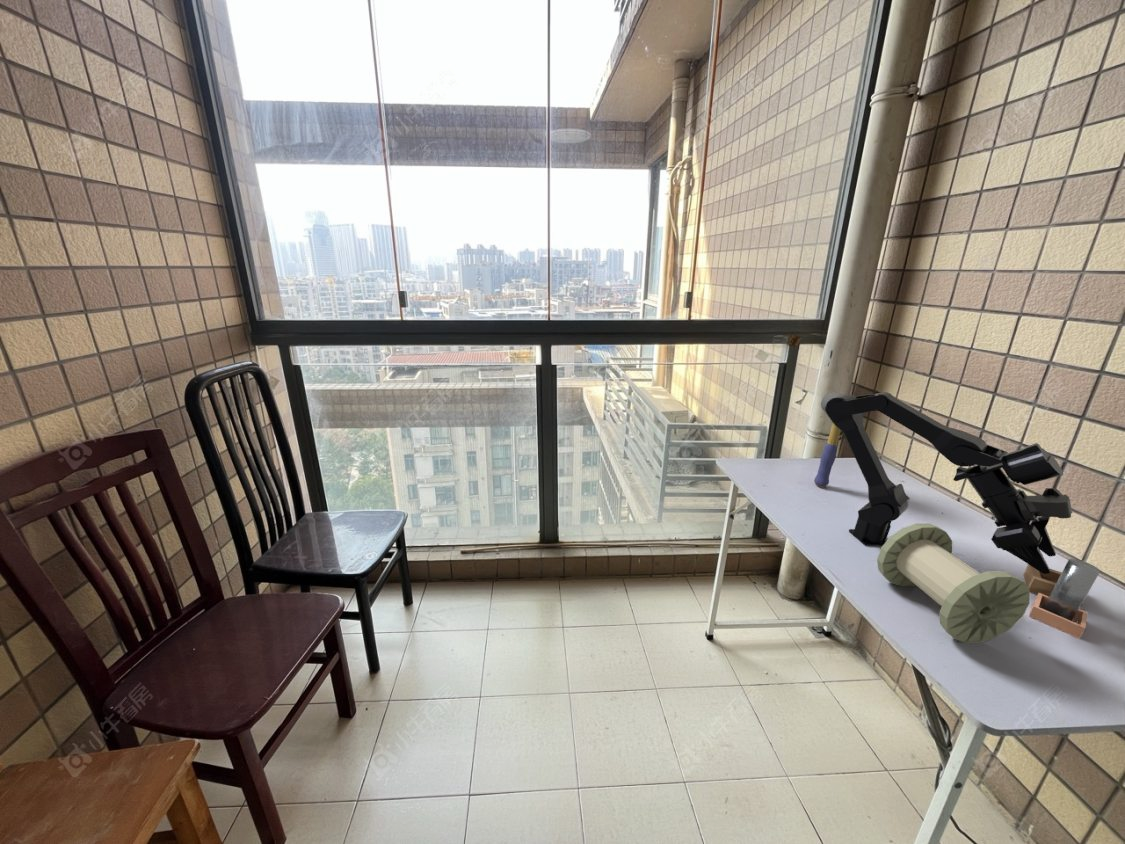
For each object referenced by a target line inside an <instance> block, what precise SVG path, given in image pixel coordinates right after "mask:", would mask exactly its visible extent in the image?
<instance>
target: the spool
mask: <svg viewBox="0 0 1125 844" xmlns="http://www.w3.org/2000/svg"><path fill="white" fill-rule="evenodd" d="M952 553H953V540H952V539H951V537H950V535H949V534H948V533H947V531H945V530H944V529H943V528H941V527H938V526H936V525H934V524H932V523H927V522H925V523H924V522H922V523H920V522H919V523H916V522H915V523H914V524H911V525H907V526H905V527H902V528H900V530H898V531H896V532H895V533H894V534H892V535H891V536H890V537H888V539H886V542H885V544H884V545H883V546H881V548H880V551H879V553H878V555H877V558H876V561H877V569H878V572H879V573H880V574H881V575H882V576H883V577H884V579H886V580H887V581H888V582H889V583H891V584H893V585H897V586H899V587H911V586H910V585H914V586H916V587H918V588H919V589H920V590H921V591H923V592H924V593H925V594H926V595H927V596H929V597H930V598H931V599H932V600H933V601H934V602H936V603H937V604H938V605H939V606H941V608H940V610H939V624H940V625H941V627H942V628H943V629H944V631H945V632H946V633H947V634H948V635H949V636H951V637H952V638H953V640H954V639H955V640H957V641H959V642H962V643H967V644H968V643H969V644H970V643H983V642H986V641H988V640H989V641H990V640H993V639H994V638H997V637H999V636H1000V635H1003V634H1004V633H1006V632H1008V631H1009V630H1010V629H1012V628H1013V627H1014V626H1015V625H1016V624H1017V623H1018V622H1019V621H1020V620H1021V619H1022V617H1024V615H1025V613H1026V610H1027V609H1028V607H1029V605H1030V599H1031V598H1030V597H1031V593H1030V591H1029V589H1028V587H1027V586H1026V584H1025V581H1024V580H1022V579H1020V578H1019V577H1018V576H1015V575H1013V574H1011V573H1009V572H1006V571H1004V570H997V571H996V570H991V571H990V570H988V571H985V572H983V573H980V572H979V571H977V570H976V569H974V567H971V566H969V565H968V564H967V563H965V562H964V561H963V560H961V559H959V558H958V557H957V556H955V555H954V554H952ZM908 585H909V586H908Z"/></svg>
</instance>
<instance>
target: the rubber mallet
mask: <svg viewBox="0 0 1125 844" xmlns="http://www.w3.org/2000/svg"><path fill="white" fill-rule="evenodd" d="M841 395H844V393H840V392H837V391H833V392H832V391H831V392H828V393H827V394H825V395H824V396H823V397H822V398H821V401H820V406H821V409H822V410H823V412H825V413H826V411H825V406H826V404H827V402H828V401H829V400H831V399H833V398H835V397H838V396H841ZM864 416H865V412H864V413H863V417H864ZM841 432H842V431H841V430H840V429H839V428H838V427H836V426H835V425H834V424H833V423H832V425H831V428H830V432H829V435H828V439H827V441H826V443H825V445H824V447H823V450H822V451H821V452H822V453H821V454H820V462H819V466H818V469H817V474H816V476H815V477H814V479H813V480H814V481H813V482H814V484H815V486H817V487H818V488H826V487H827V486H828V485H829V484H830V475H831V471H832V467H833V466H834V463H835V461H836V458H837V451H838V442H839V438H840V434H841Z"/></svg>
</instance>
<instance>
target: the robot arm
mask: <svg viewBox="0 0 1125 844" xmlns="http://www.w3.org/2000/svg"><path fill="white" fill-rule="evenodd" d="M843 394H844V393H843ZM825 411H826V412H825ZM825 411H824V412H825V414H826V415H827V418H829V419H830V421H831V423H832V425H833V424H834V425H835V426H836V427H838V428H839V429H840V430H841V431H840V432H842V434H843V435H844V437H845V439H846V442H847V444H848V446H849V448H850V450H851V452H852V454H853V457H854V459H855V460H856V463H857V466H858V467H859V469H860V471H861V474H862V476H863V477H864V480H865V483H866V484H867V491H868V492H867V493H868V494H867V495H868V502H867V503H866V504H865V505H864V506H862V507H861V508H860V509H859V510H858V511H857V514H858V517H857V520H856V523H855V527H854V528H853V529H852V528H850V529H848V532H849V533H850V534H851V535H853V537H854V538H856V539H857V540H858V541H860V542H861V543H862V544H863V545H864V546H867V547H869V546H870V547H871V546H872V547H873V546H875V547H876V546H877V547H878V546H881V547H882V546H883V545H884V544H885V542H886V541H887V540H888V539H887V538H888V535H889V533H890V531H891V530H890V529H891V528H892V526H891V525H892V524H891V523H892V521H896V520H897V519H898V518H899V517H901V516H902V515H903V514H904V513H905V512H906V510H907V509H908V507H909V502H908V501H909V500H910V497H909V496H908V495H907V494H906V492H905V489H904V486H903V484H902V483H897V484H895V483H894V482H893V481H892V480H890V478H889V476H888V474H887V473H886V471H885V468H884V466H883V464H882V462H881V460H880V458H879V456H878V454H877V451H876V450H875V448H874V445H873V444H872V442H871V440H870V437H869V435H868V433H867V431H866V429H865V426H864V416H863V413H864V414H865V413H870V412H875V411H877V412H880V413H881V414H883V415H884V416H886V417H887V418H889V419H891V420H893V421H895V422H897V423H898V424H900V425H901V426H903V427H905V428H906V429H908V430H910V431H911V432H913V433H914V434H917V435H918V436H920V437H922V438H923V439H925V440H926V441H928V442H929V443H930V444H931V445H932V446H933V447H934V448H935V450H936V451H937V452H938V453H940V455H942V456H943V457H944V459H947V460H948V461H949V462H950V463H951V464H953V465H954V466H955V465H956V466H958V467H957V468H956V471H955V472H956V473H955V475H954V476H953V478H952V479H953V481H954V482H958V481H962V480H965V479H967V481H968V482H969V484H970V486H972V488H973V489H974V491H975V492H976V493H977V494H978V496H979V497H980V498H981V501H982V503H981V506H982V507H983V508H984V509H988V511H990V512H991V513H990V514H992V515H993V517H994V518H995V521H994V524H995V526H996V527H997V528H996V530H995V531H994V533H993V535H992V536H991V539H990V540H991V541H992V543H993V544H994V546H995V547H996V548H997V549H1001V550H1003V551H1006V552H1007V553H1010V554H1011V555H1013V556H1014V557H1017V558H1018V559H1020V560H1022V561H1023V562H1025V564H1027V565H1028V564H1029V565H1030V566H1032V567H1033V568H1035V569H1036V570H1038V571H1040V572H1041V573H1043V574H1048V573H1050V569H1051V568H1050V567H1049V565H1048V563H1047V561H1046V560H1045V557H1044V555H1043V554H1045V555H1046V556H1048V557H1055V556H1056V555H1057V554H1056V550H1055V548H1054V546H1053V542H1052V541H1051V537H1050V535H1049V532H1048V529H1047V525H1048V524H1049V521H1050V518H1059V519H1070V518H1071V517H1072V514H1073V510H1072V504H1071V499H1070V496H1068V495H1067V494H1063V493H1062V492H1061V491H1059V489H1058V488H1056V487H1047V488H1045V489H1044V491H1043V493H1042V494H1039V493H1037V494H1036V495H1027V494H1026V492H1025V491H1024V490H1022V489H1020V488H1019V489H1017V488H1016V487H1015V485H1014V484H1013V483H1016V484H1022V485H1024V486H1026V485H1030V484H1034V483H1037V482H1041V481H1044V480H1045V481H1046V480H1049V479H1054V478H1057V477H1061V476H1063V475H1064V471H1063V469H1062V467H1061V466H1060V464H1059V462H1058V460H1056V458H1055V457H1054V456H1053V454H1051V453H1049V452H1048V451H1047V450H1046V449H1044V448H1043V447H1041V445H1040V444H1039V443H1032V444H1030V445H1029V444H1028V445H1027V446H1025V447H1024V448H1020V449H1017V450H1013V451H1010V452H1008V451H1007V450H1003V449H1000V448H999V447H996V446H992V445H989V444H987V442H986V441H985V440H984V439H983V438H981V437H980V436H976V435H974V434H971V433H969V432H966V431H964V430H961V429H957V428H953V427H950V426H947V425H944V424H943V423H941V422H939V421H938V420H935V419H934V418H931V417H930V416H928V415H926V414H925V413H923V412H921V411H919V410H918V409H916V408H914V407H913V406H911V405H909V404H907V403H905V402H903V401H901V400H900V399H898V398H897V397H895V396H893V394H891V393H890V392H886V391H885V392H883V391H882V392H879V393H874V394H873V393H872V394H864V395H856V396H855V395H854V394H853V395H852V394H849V393H848V394H847V393H845V394H844V395H841V396H838V397H835V398H833V399H831V400H829V401H828V402H827V404H826V406H825ZM1011 481H1012V482H1013V483H1012V482H1011ZM1042 552H1043V553H1042Z"/></svg>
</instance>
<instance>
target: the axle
mask: <svg viewBox="0 0 1125 844" xmlns="http://www.w3.org/2000/svg"><path fill="white" fill-rule="evenodd" d="M1061 572H1062V573H1061V575H1060V577H1059V579H1058V581H1057V583H1056V585H1055V587H1054V588H1053V590H1052V592H1051V594H1050V596H1049V598H1048V600H1047V602H1046V604H1045V606H1044V607H1042V609H1044V610H1047V611H1049V612H1051V613H1054V614H1056V615H1058V616H1061V617H1063V618H1065V619H1068V620H1070V621H1072V622H1074V620H1073V619H1074V617H1075V615H1076V613H1077V612H1078V610H1079V609H1080V608H1081V606H1082V605H1083V602H1084V601H1085V599H1086V598H1087V596H1088V594H1089V592H1090V591H1091V589H1092V587H1093V585H1094V583H1095V581H1096V579H1098V576H1099V575H1100V573H1101V570H1100V568H1098V567H1096V566H1095V565H1093V564H1091V563H1089V562H1087V561H1083V560H1080V559H1075V558H1069V559H1068V560H1067V562H1066V564H1065V566H1064V568H1063V570H1062V571H1061Z"/></svg>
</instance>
